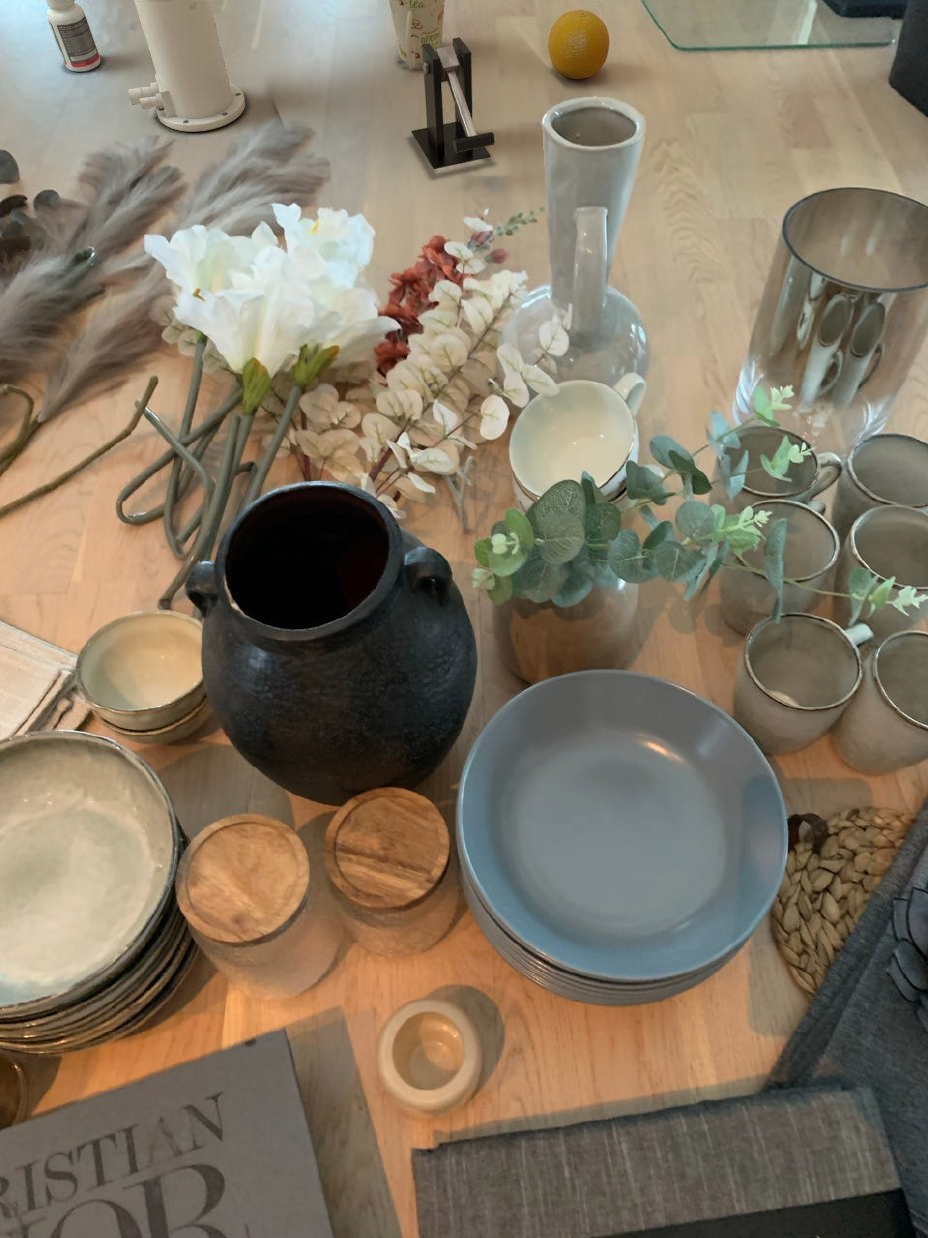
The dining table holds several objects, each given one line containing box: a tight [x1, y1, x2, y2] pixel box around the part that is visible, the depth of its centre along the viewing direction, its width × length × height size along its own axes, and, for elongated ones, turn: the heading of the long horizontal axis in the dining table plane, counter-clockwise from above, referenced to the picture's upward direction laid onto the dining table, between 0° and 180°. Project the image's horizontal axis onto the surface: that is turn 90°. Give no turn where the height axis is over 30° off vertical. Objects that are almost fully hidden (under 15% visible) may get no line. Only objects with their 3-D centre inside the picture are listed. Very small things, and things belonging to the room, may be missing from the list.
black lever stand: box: [410, 36, 492, 170], centre depth 111 cm, size 10×8×13 cm
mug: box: [388, 0, 445, 68], centre depth 125 cm, size 8×13×10 cm, turn 174°
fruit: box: [547, 9, 610, 80], centre depth 124 cm, size 9×8×8 cm
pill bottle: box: [45, 0, 101, 73], centre depth 129 cm, size 5×5×10 cm
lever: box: [436, 44, 496, 153], centre depth 107 cm, size 13×5×2 cm, turn 19°
